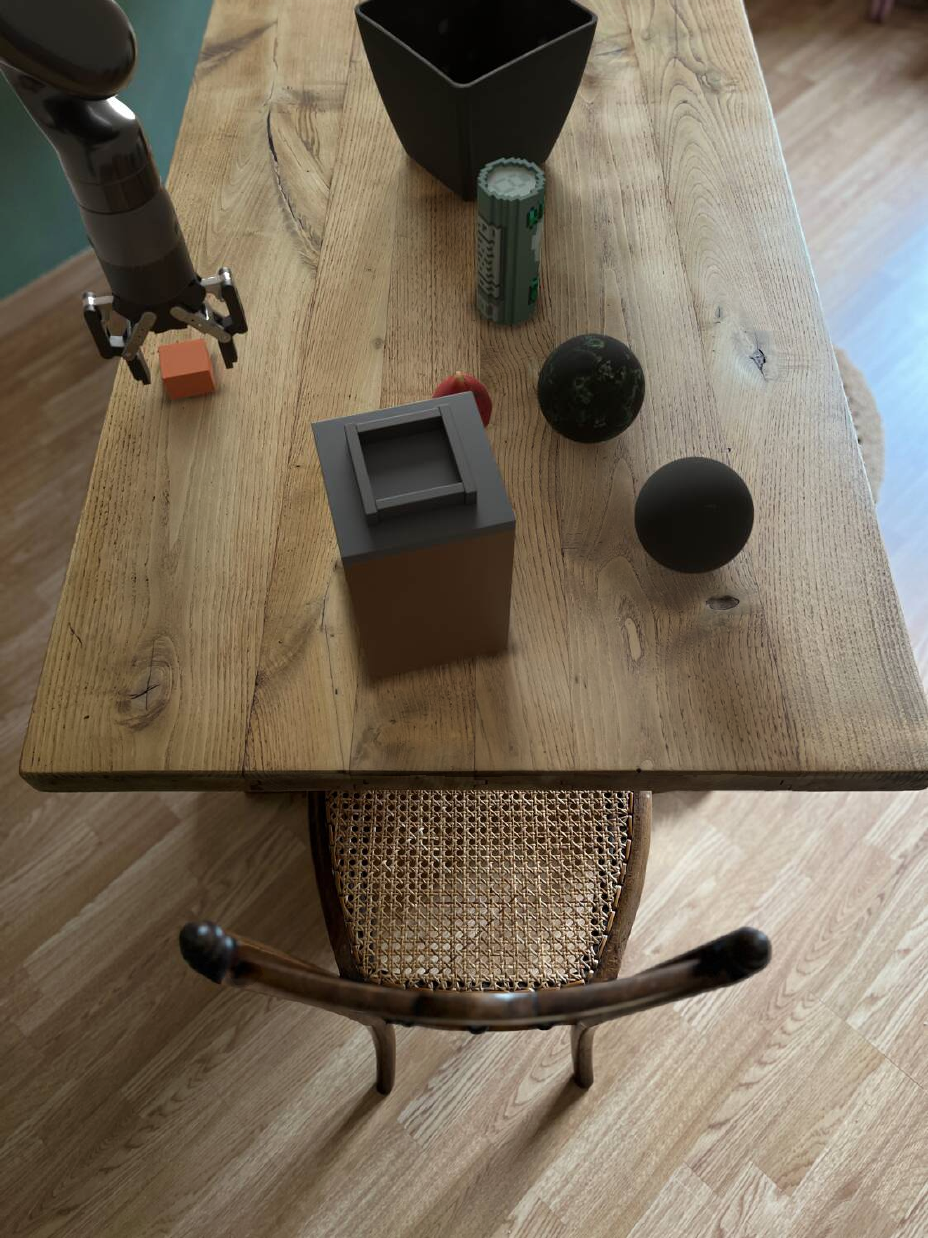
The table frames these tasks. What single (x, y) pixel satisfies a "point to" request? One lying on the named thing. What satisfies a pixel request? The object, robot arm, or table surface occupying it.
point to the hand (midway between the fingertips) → (188, 370)
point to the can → (509, 239)
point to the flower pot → (476, 78)
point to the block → (186, 368)
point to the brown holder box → (420, 531)
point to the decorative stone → (591, 388)
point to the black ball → (694, 515)
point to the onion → (467, 384)
